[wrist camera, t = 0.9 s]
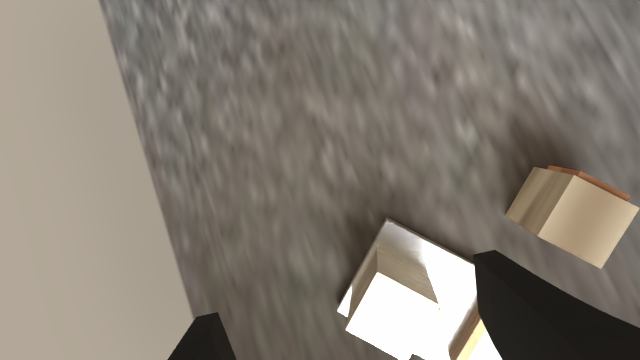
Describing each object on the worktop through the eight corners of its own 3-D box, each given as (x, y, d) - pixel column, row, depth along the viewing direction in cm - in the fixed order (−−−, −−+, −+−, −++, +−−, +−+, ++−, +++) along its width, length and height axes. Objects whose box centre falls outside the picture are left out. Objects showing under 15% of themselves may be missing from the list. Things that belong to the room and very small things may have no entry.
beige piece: (592, 324, 30) (660, 385, 23) (536, 411, 31) (584, 495, 24) (386, 216, 31) (389, 242, 23) (338, 304, 32) (327, 354, 24)
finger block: (589, 187, 29) (644, 201, 23) (555, 241, 29) (601, 268, 24) (536, 161, 29) (578, 168, 23) (505, 215, 30) (537, 236, 24)
